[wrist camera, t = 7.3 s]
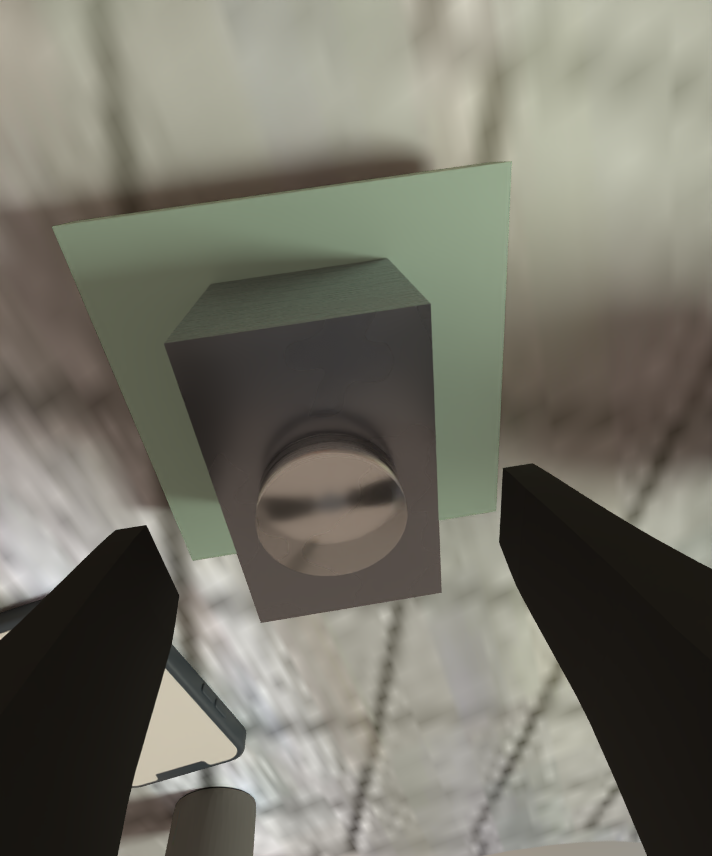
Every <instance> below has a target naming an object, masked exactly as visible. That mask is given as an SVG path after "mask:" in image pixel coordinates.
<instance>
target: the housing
mask: <svg viewBox="0 0 712 856" xmlns="http://www.w3.org/2000/svg"><path fill="white" fill-rule="evenodd" d="M164 346H165V349H166V352H167V355H168V358H169V360H170V363H171V366H172V369H173V372H174V375H175V378H176V381H177V383H178V386H179V389H180V392H181V395H182V398H183V401H184V403H185V406H186V409H187V412H188V415H189V418H190V421H191V424H192V426H193V429H194V432H195V435H196V438H197V441H198V444H199V446H200V449H201V452H202V455H203V458H204V461H205V464H206V467H207V469H208V472H209V475H210V478H211V481H212V484H213V487H214V490H215V492H216V495H217V498H218V501H219V504H220V507H221V510H222V512H223V515H224V518H225V521H226V524H227V527H228V530H229V533H230V535H231V538H232V541H233V544H234V547H235V550H236V553H237V555H238V558H239V561H240V564H241V567H242V570H243V573H244V576H245V578H246V581H247V584H248V587H249V590H250V593H251V596H252V599H253V601H254V604H255V607H256V610H257V613H258V616H259V619H260V621H261V623H263V622H269V621H275V620H281V619H287V618H293V617H299V616H305V615H310V614H316V613H322V612H328V611H334V610H340V609H346V608H352V607H358V606H364V605H370V604H376V603H382V602H388V601H394V600H400V599H406V598H412V597H418V596H424V595H430V594H436V593H442V592H441V565H440V538H439V511H438V484H437V457H436V430H435V403H434V376H433V349H432V322H431V303H430V302H429V301H428V300H427V299H426V298H425V297H424V296H423V295H422V294H421V293H420V292H419V291H418V290H417V289H416V288H415V286H414V285H413V284H412V283H411V282H410V281H409V280H408V279H407V278H406V277H405V276H404V275H403V274H402V273H401V272H400V271H399V270H398V269H397V268H396V266H395V265H394V264H393V263H392V262H391V261H390V260H389V259H388V258H385V259H378V260H371V261H364V262H358V263H351V264H344V265H337V266H330V267H323V268H316V269H309V270H303V271H296V272H289V273H282V274H275V275H268V276H261V277H255V278H248V279H241V280H234V281H227V282H220V283H213V284H210V285H209V287H208V288H207V289H206V290H205V292H204V293H203V294H202V296H201V297H200V298H199V299H198V301H197V302H196V303H195V304H194V306H193V307H192V308H191V309H190V311H189V312H188V313H187V315H186V316H185V317H184V318H183V320H182V321H181V322H180V323H179V325H178V326H177V327H176V328H175V330H174V331H173V332H172V333H171V335H170V336H169V337H168V339H167V340H166V341H165V342H164Z"/></svg>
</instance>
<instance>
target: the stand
mask: <svg viewBox="0 0 712 856" xmlns="http://www.w3.org/2000/svg"><path fill="white" fill-rule="evenodd" d="M511 166H512V161H511V162H489V163H482V164H475V165H468V166H460V167H453V168H446V169H439V170H432V171H425V172H418V173H411V174H404V175H397V176H390V177H383V178H376V179H369V180H362V181H354V182H347V183H340V184H333V185H326V186H319V187H312V188H305V189H298V190H291V191H284V192H277V193H270V194H263V195H255V196H248V197H241V198H234V199H227V200H220V201H213V202H206V203H199V204H192V205H185V206H178V207H171V208H164V209H156V210H149V211H142V212H135V213H128V214H121V215H114V216H107V217H100V218H93V219H86V220H79V221H74V222H69V223H65V224H61V225H57V226H52V229H53V231H54V233H55V236H56V238H57V240H58V243H59V245H60V247H61V250H62V252H63V255H64V257H65V259H66V262H67V264H68V266H69V269H70V271H71V274H72V276H73V278H74V281H75V283H76V285H77V288H78V290H79V292H80V295H81V297H82V300H83V302H84V304H85V307H86V309H87V311H88V314H89V316H90V319H91V321H92V323H93V326H94V328H95V330H96V333H97V335H98V337H99V340H100V342H101V345H102V347H103V349H104V352H105V354H106V356H107V359H108V361H109V364H110V366H111V368H112V371H113V373H114V375H115V378H116V380H117V383H118V385H119V387H120V390H121V392H122V394H123V397H124V399H125V401H126V404H127V406H128V409H129V411H130V413H131V416H132V418H133V420H134V423H135V425H136V428H137V430H138V432H139V435H140V437H141V439H142V442H143V444H144V446H145V449H146V451H147V454H148V456H149V458H150V461H151V463H152V465H153V468H154V470H155V473H156V475H157V477H158V480H159V482H160V484H161V487H162V489H163V492H164V494H165V496H166V499H167V501H168V503H169V506H170V508H171V510H172V513H173V515H174V518H175V520H176V522H177V525H178V527H179V529H180V532H181V534H182V537H183V539H184V541H185V544H186V546H187V548H188V551H189V553H190V555H191V558H192V560H193V561H194V560H201V559H207V558H213V557H219V556H225V555H231V554H237V553H236V550H235V547H234V544H233V541H232V538H231V535H230V533H229V530H228V527H227V524H226V521H225V518H224V515H223V512H222V510H221V507H220V504H219V501H218V498H217V495H216V492H215V490H214V487H213V484H212V481H211V478H210V475H209V472H208V469H207V467H206V464H205V461H204V458H203V455H202V452H201V449H200V446H199V444H198V441H197V438H196V435H195V432H194V429H193V426H192V424H191V421H190V418H189V415H188V412H187V409H186V406H185V403H184V401H183V398H182V395H181V392H180V389H179V386H178V383H177V381H176V378H175V375H174V372H173V369H172V366H171V363H170V360H169V358H168V355H167V352H166V349H165V346H164V342H165V341H166V340H167V339H168V337H169V336H170V335H171V333H172V332H173V331H174V330H175V328H176V327H177V326H178V325H179V323H180V322H181V321H182V320H183V318H184V317H185V316H186V315H187V313H188V312H189V311H190V309H191V308H192V307H193V306H194V304H195V303H196V302H197V301H198V299H199V298H200V297H201V296H202V294H203V293H204V292H205V290H206V289H207V288H208V287H209V285H210V284H213V283H220V282H227V281H234V280H241V279H248V278H255V277H261V276H268V275H275V274H282V273H289V272H296V271H303V270H309V269H316V268H323V267H330V266H337V265H344V264H351V263H358V262H364V261H371V260H378V259H385V258H388V259H389V260H390V261H391V262H392V263H393V264H394V265H395V266H396V268H397V269H398V270H399V271H400V272H401V273H402V274H403V275H404V276H405V277H406V278H407V279H408V280H409V281H410V282H411V283H412V284H413V285H414V286H415V288H416V289H417V290H418V291H419V292H420V293H421V294H422V295H423V296H424V297H425V298H426V299H427V300H428V301H429V302H430V303H431V322H432V349H433V376H434V403H435V430H436V457H437V484H438V511H439V520H445V519H451V518H457V517H463V516H469V515H476V514H482V513H488V512H494V511H496V502H497V480H498V457H499V435H500V413H501V390H502V368H503V345H504V323H505V301H506V278H507V256H508V234H509V211H510V189H511Z"/></svg>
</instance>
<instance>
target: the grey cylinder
mask: <svg viewBox="0 0 712 856" xmlns="http://www.w3.org/2000/svg"><path fill="white" fill-rule="evenodd" d="M255 818H256V802H255V800H254V798H253V797H252V796H251V795H249V794H247V793H246V792H243V791H240V790H236V789H231V788H209V789H204V790H199V791H196V792H192V793H190V794H188V795H186V796H185V797H183V798H182V799H180V800H179V801H178V803H177V805H176V807H175V810H174V814H173V819H172V824H171V829H170V834H169V839H168V844H167V849H166V854H165V856H253V848H254V833H255Z"/></svg>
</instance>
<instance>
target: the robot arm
mask: <svg viewBox="0 0 712 856" xmlns="http://www.w3.org/2000/svg"><path fill="white" fill-rule="evenodd" d="M499 543H500V546H501V548H502V551H503V554H504V556H505V559H506V561H507V564H508V567H509V569H510V571H511V574H512V576H513V579H514V581H515V584H516V586H517V588H518V590H519V592H520V594H521V596H522V598H523V599H524V601H525V603H526V605H527V607H528V609H529V611H530V612H531V614H532V616H533V618H534V620H535V622H536V623H537V625H538V627H539V629H540V631H541V632H542V634H543V636H544V638H545V640H546V642H547V643H548V645H549V647H550V649H551V651H552V652H553V654H554V656H555V658H556V660H557V661H558V663H559V665H560V667H561V669H562V671H563V672H564V674H565V676H566V678H567V680H568V681H569V683H570V685H571V687H572V689H573V690H574V692H575V694H576V696H577V698H578V700H579V702H580V704H581V706H582V708H583V710H584V712H585V714H586V716H587V718H588V720H589V722H590V724H591V726H592V729H593V731H594V733H595V735H596V738H597V740H598V742H599V744H600V747H601V749H602V751H603V753H604V756H605V758H606V760H607V762H608V765H609V767H610V769H611V772H612V774H613V776H614V778H615V781H616V783H617V785H618V788H619V790H620V792H621V795H622V797H623V799H624V802H625V804H626V807H627V809H628V811H629V814H630V816H631V818H632V821H633V823H634V825H635V828H636V830H637V833H638V835H639V837H640V840H641V842H642V844H643V847H644V849H645V852H646V854H647V856H712V569H711V568H709V567H707V566H705V565H703V564H701V563H699V562H697V561H695V560H694V559H692V558H690V557H688V556H686V555H684V554H683V553H681V552H679V551H677V550H675V549H673V548H672V547H670V546H668V545H666V544H664V543H662V542H661V541H659V540H657V539H655V538H654V537H652V536H650V535H648V534H647V533H645V532H643V531H641V530H640V529H638V528H636V527H635V526H633V525H631V524H629V523H628V522H626V521H624V520H623V519H621V518H619V517H618V516H616V515H615V514H613V513H611V512H610V511H608V510H606V509H605V508H603V507H602V506H600V505H598V504H597V503H595V502H594V501H592V500H590V499H589V498H587V497H586V496H584V495H583V494H581V493H579V492H578V491H576V490H575V489H573V488H571V487H570V486H568V485H567V484H565V483H564V482H562V481H561V480H559V479H557V478H556V477H554V476H553V475H551V474H549V473H548V472H546V471H545V470H543V469H541V468H540V467H538V466H536V465H535V464H533V463H532V464H526V465H519V466H513V467H507V468H503V479H502V498H501V518H500V537H499ZM178 600H179V594H178V592H177V590H176V588H175V585H174V583H173V581H172V579H171V577H170V575H169V573H168V570H167V568H166V566H165V564H164V562H163V560H162V558H161V555H160V553H159V551H158V549H157V547H156V545H155V543H154V541H153V538H152V536H151V534H150V532H149V530H148V528H147V526H146V525H144V526H138V527H132V528H126V529H119V530H115V531H114V532H113V533H112V534H111V535H109V536H108V537H107V538H106V539H105V540H104V541H103V542H102V543H101V544H100V545H98V546H97V547H96V548H95V549H94V550H93V551H92V552H91V553H90V554H89V555H88V556H87V557H86V558H85V559H84V560H83V561H82V562H81V563H80V564H79V565H78V566H77V567H76V568H75V569H74V570H73V571H72V572H71V573H70V574H69V575H68V576H67V577H66V578H65V579H64V580H63V581H62V582H61V583H59V584H58V585H57V586H56V587H55V588H54V589H53V590H52V591H51V592H50V593H49V594H48V595H47V596H46V597H45V598H44V599H43V600H42V601H41V602H40V603H39V604H38V605H37V606H36V607H35V608H34V609H33V610H32V611H31V612H30V613H29V614H28V615H27V616H25V617H24V618H23V619H22V620H21V621H20V622H19V623H18V624H17V625H16V626H15V627H14V628H13V629H12V630H11V631H9V632H8V633H7V634H6V635H5V636H4V637H3V638H2V639H1V640H0V856H117V855H118V850H119V845H120V840H121V835H122V830H123V825H124V819H125V814H126V809H127V804H128V800H129V796H130V792H131V788H132V784H133V780H134V776H135V772H136V768H137V765H138V762H139V758H140V755H141V751H142V748H143V744H144V741H145V737H146V734H147V730H148V727H149V723H150V720H151V717H152V713H153V710H154V706H155V703H156V699H157V696H158V692H159V689H160V685H161V682H162V678H163V675H164V671H165V667H166V664H167V660H168V657H169V653H170V649H171V645H172V640H173V634H174V628H175V622H176V614H177V607H178Z"/></svg>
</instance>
